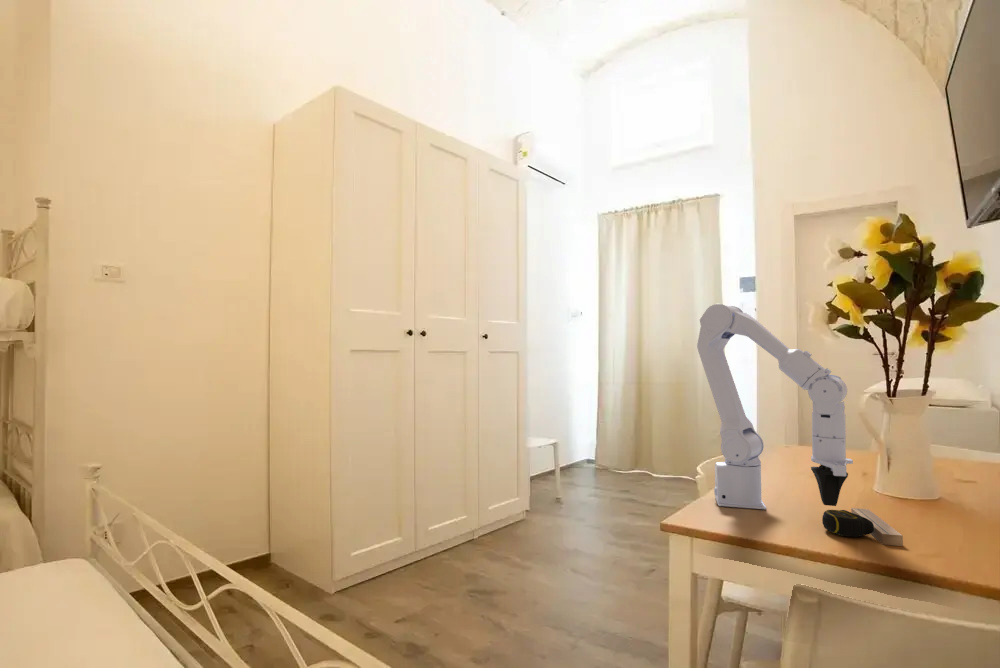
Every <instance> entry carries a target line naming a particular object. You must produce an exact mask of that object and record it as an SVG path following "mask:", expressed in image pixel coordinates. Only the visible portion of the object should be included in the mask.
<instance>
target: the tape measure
mask: <svg viewBox="0 0 1000 668" xmlns="http://www.w3.org/2000/svg"><path fill="white" fill-rule="evenodd" d="M821 518H822V519H821V521H822V525H823V528H824V529H825V530H827V531H828V532H830V533H833V534H835V533H836V535H838V536H841V537H845V536H846V537H853V538H855V537H857V538H858V537H862V536H866V535H867V536H868V535H871V533H872V532H873V531H874V525H873V523H872V522H871V521H870V520H868V519H866V518H864V517H862V516H859V515H857V514H854V513H851V511H848V510H845V509H840V510H839V509H827V510H825V511H823V514H822V517H821Z"/></svg>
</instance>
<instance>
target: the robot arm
mask: <svg viewBox="0 0 1000 668" xmlns="http://www.w3.org/2000/svg"><path fill="white" fill-rule="evenodd" d="M699 324H700V329H699V334H698V339H697V344H696V347H697V348H696V349H697V351H698V355H699V358H700V361H701V363H702V367H703V370H704V373H705V375H706V379H707V382H708V385H709V388H710V391H711V394H712V397H713V400H714V404H715V406H716V409H717V412H718V416H719V419H720V423H721V424H720V429H719V435H720V437H721V444H720V450H721V453H722V456H723V458H724V461H716V462H715V463H714V489H713V492H714V498H715V501H716V503H717V505H718V506H719V507H730V508H741V509H754V510H767V505H766V504H764V501H763V500H762V498H763V497H762V462H761V460H760V458H759V456H761V454H762V453H763V451H764V447H765V444H764V440H763V438H762V437H761V435H759V433H757V431H756V430H755V427H754V426H753V423H752V422H751V420H750V419H749V418H748V417H747V415H746V414H745V413H746V412H745V410H744V407H743V404H742V400H741V398H740V396H739V393H738V389H737V385H736V383H735V380H734V378H733V374H732V372H731V369H730V366H729V363H728V361H727V358H726V357H727V356H726V355H725V351H724V349H725V348H726V346H727V344H728V342H729V341H730V339H731V338H732V337H734V336H735V335H739V336H744V337H746V338H747V337H748V338H749V339H750V340H751V341H753V342H754V343H756V344H757V345H758V346H759V347H760V348H762V349H764V351H766V352H767V353H768V354H770V355H771V356H772V357H774V358H775V359H776V360H777V361H778V369H779V370H780V371H781V372H782V373H783V374H785V375H786V376H787V377H788V378H789V379H791V380H792V381H793V382H794V383H796V384H797V385H798V387H800V388H801V389H802V390H804V391H805V390H806V391H807V393H808V397H809V398H810V400H811V401H812V411H811V444H812V446H811V447H812V448H811V450H812V451H811V453H812V455H811V457H810V458H811V459H810V460H811V462H812V463H816V464H817V465H818V464H819V466H811V467H810V469H811V471H812V474H813V475H814V477H815V480H816V483H817V485H818V486H817V487H818V490H819V495H820V499H821V502H822V504H823V505H824V506H829V507H831V506H833V507H836V506H837V504H838V500H839V497H840V493H841V490H842V487H843V485H844V483H845V482H846V480H847V478H849V477H848V476H849V473H848V472H847V465H848V464H849V465H853V464H854V460H853V459H851V458H847V454H846V453H847V452H846V450H847V449H846V447H847V446H846V445H847V443H846V439H847V438H846V437H847V436H846V435H847V434H846V432H847V431H846V430H847V429H846V428H847V426H846V413H845V409H846V408H845V407H846V406H845V401H844V399H846V397H847V395H848V386H847V385H846V383H845V382H844V380H842V378H841V377H840V376H838V375H835V374H831V373H832V370H831V369H829V368H828V367H827V368H824V367H823V366H822V365H820V364H819V362H817V361H816V360H814V359H813V357H812V353H810V351H808V350H805V351H803V350H802V349H800V348H793V349H792V348H791V349H790V348H789V347H788V346H787V345H786V344H785V343H784V342H782V341H781V340H780V339H779V338H778V337H776V336H775V335H774V334H773V333H772V332H771V331H769V330H768V329H767V328H766V327H765V326H764V325H763V324H761V323H760V322H759V320H757V319H755V318H754V317H753V316H752V315H751V314H749V313H747V312H744V311H743V309H741V308H739V307H737V306H735V305H734V306H733V305H725V304H723V303H714V304H712V305H709V307H707V309H706V310H705V311H704V313H703V314H702V315H701V317H700V319H699Z"/></svg>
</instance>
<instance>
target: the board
mask: <svg viewBox="0 0 1000 668" xmlns="http://www.w3.org/2000/svg"><path fill="white" fill-rule="evenodd" d="M850 510H851V511H850V512H851V513H854V514H857V515H859V516H862V517H864V518H866V519H868V520H870V521H871V522H872V523H873V525H874V531H873V532H872V533H871V534H870V535H872V536H873V537H874V538H875V539H876V540H877V541H878V542H879V543H880V544H881V545H885V546H894V547H895V546H899V547H904V536H903V534H902V533H900V532H899V531H898V530H896V529H895V528H894V527H893V526H891V525H889V524H888V523H887V522H886V521H885V520H883V519H882V517H879V516H878V515H877V514H876V513H874V512H873V511H871V510H870V509H869V508H856V507H851V509H850Z"/></svg>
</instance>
